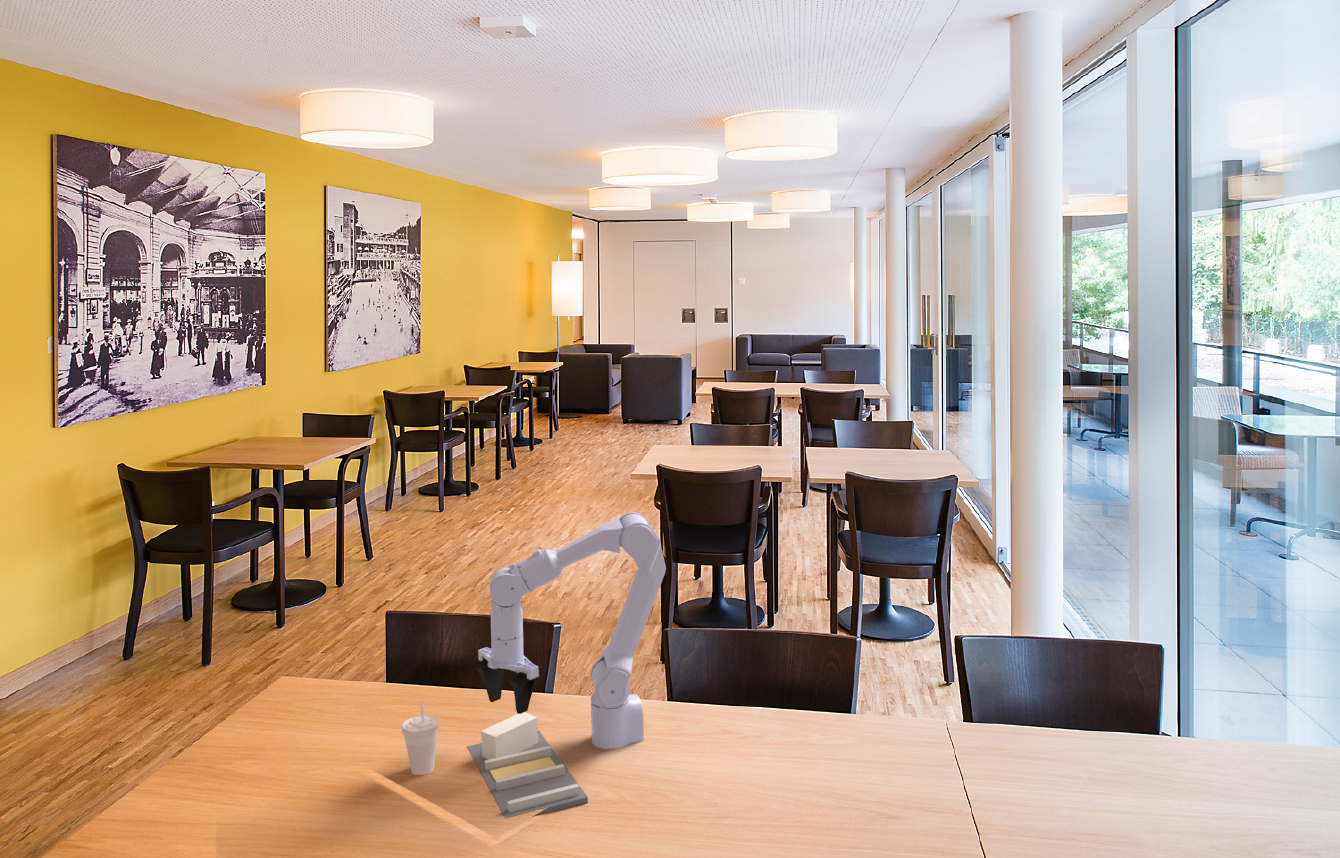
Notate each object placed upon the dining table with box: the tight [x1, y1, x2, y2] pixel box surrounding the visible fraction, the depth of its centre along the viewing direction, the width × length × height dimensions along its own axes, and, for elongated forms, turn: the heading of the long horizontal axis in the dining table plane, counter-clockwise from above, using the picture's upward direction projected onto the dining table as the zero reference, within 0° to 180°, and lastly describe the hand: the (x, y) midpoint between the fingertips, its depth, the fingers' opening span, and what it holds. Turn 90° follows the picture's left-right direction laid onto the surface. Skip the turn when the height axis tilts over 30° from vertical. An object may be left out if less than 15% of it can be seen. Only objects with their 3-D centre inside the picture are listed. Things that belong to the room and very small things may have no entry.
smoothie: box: [401, 699, 440, 776], centre depth 161 cm, size 6×6×14 cm
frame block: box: [480, 712, 539, 760], centre depth 168 cm, size 10×4×5 cm, turn 140°
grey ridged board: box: [466, 730, 589, 819], centre depth 161 cm, size 14×27×2 cm, turn 25°
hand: (508, 706), depth 167 cm, fingers open, 7 cm apart
